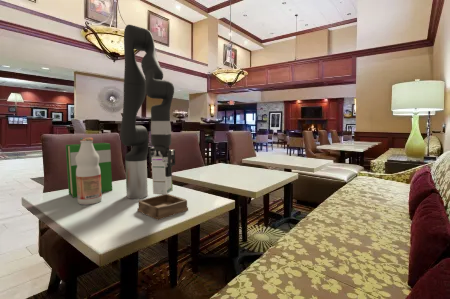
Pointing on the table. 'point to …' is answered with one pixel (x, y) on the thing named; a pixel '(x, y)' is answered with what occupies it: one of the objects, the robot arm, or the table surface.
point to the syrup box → (160, 177)
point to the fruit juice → (88, 173)
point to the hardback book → (104, 165)
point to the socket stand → (162, 206)
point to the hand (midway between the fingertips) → (162, 175)
